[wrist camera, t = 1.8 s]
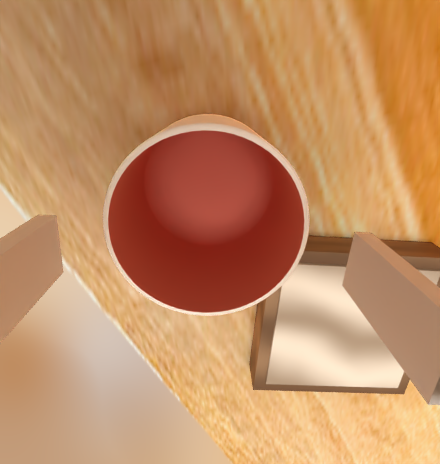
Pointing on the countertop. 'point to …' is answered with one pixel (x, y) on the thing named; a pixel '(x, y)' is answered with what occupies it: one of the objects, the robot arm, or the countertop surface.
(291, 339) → the stand
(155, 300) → the cup
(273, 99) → the countertop surface
